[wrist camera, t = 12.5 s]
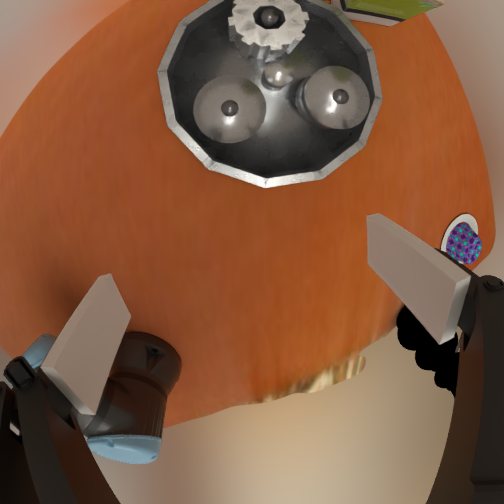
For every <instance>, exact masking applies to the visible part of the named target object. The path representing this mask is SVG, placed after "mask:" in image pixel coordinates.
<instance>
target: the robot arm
mask: <svg viewBox="0 0 504 504" xmlns="http://www.w3.org/2000/svg"><path fill="white" fill-rule="evenodd" d="M367 241H368V265H369V266H370V267H371V268H372V269H373V270H374V272H375V273H376V274H377V275H378V276H379V277H380V278H381V279H382V280H383V281H384V282H385V283H386V284H387V285H388V286H389V287H390V289H391V290H392V291H393V292H394V293H395V294H396V295H397V296H398V297H399V298H400V300H401V301H402V302H403V303H404V304H405V305H406V306H407V307H408V309H409V310H410V311H411V312H412V313H413V314H414V315H415V317H416V318H417V319H418V320H419V321H420V322H421V324H422V325H423V326H424V327H425V328H426V329H427V331H428V332H429V333H430V334H431V335H432V337H433V338H434V339H435V340H436V342H437V343H438V344H439V345H440V344H442V343H444V342H446V341H448V340H450V339H452V338H453V337H454V335H455V332H456V329H457V326H459V327H460V328H461V329H462V334H461V337H460V339H459V342H458V345H457V347H456V350H455V352H458V350H459V348H460V356H459V369H458V379H457V388H456V395H455V402H454V408H453V414H452V419H451V424H450V429H449V433H448V438H447V442H446V446H445V450H444V453H443V457H442V460H441V463H440V467H439V470H438V473H437V476H436V479H435V482H434V485H433V487H432V490H431V493H430V495H429V498H428V500H427V502H426V504H504V282H503V281H502V280H501V279H499V278H497V277H495V276H491V275H485V276H481V277H478V276H477V275H476V274H475V273H473V272H472V271H471V270H469V269H468V268H467V267H465V266H464V265H463V264H461V263H459V261H457V260H456V259H453V257H452V256H450V255H449V254H447V253H446V252H444V251H442V250H439V249H436V248H432V247H431V246H429V245H428V244H427V243H425V242H424V241H422V240H421V239H419V238H418V237H416V236H415V235H413V234H412V233H410V232H409V231H407V230H405V229H404V228H402V227H401V226H399V225H398V224H396V223H395V222H393V221H391V220H390V219H388V218H386V217H385V216H383V215H382V214H380V213H378V214H373V215H368V216H367ZM130 318H131V315H130V313H129V311H128V309H127V307H126V305H125V303H124V301H123V299H122V297H121V294H120V292H119V290H118V288H117V286H116V284H115V282H114V279H113V277H112V275H111V273H110V274H106V275H102V276H99V277H98V278H97V280H96V281H95V283H94V284H93V285H92V287H91V288H90V289H89V291H88V292H87V294H86V295H85V297H84V298H83V299H82V301H81V302H80V304H79V305H78V307H77V308H76V310H75V311H74V313H73V314H72V316H71V317H70V319H69V320H68V322H67V323H66V325H65V326H64V328H63V330H62V331H61V333H60V334H59V336H58V337H57V338H55V337H54V336H53V335H51V334H44V335H41V336H40V337H39V338H38V339H37V340H36V341H35V342H34V343H33V344H32V345H31V346H30V347H29V348H28V349H27V350H26V351H25V353H24V354H23V355H22V356H18V357H16V358H14V359H13V360H12V361H10V362H9V364H8V365H7V366H6V368H5V370H4V376H5V377H6V379H7V380H8V382H9V383H10V385H11V386H13V388H12V389H10V388H9V387H8V385H7V384H6V383H5V382H3V381H2V382H0V504H120V502H119V501H118V499H117V498H116V496H115V495H114V493H113V491H112V489H111V488H110V487H109V484H108V483H107V481H106V479H105V478H104V476H103V474H102V472H101V470H100V469H99V467H98V465H97V463H96V461H95V459H94V457H93V455H92V453H91V451H90V450H92V451H93V452H95V453H96V454H98V455H101V456H103V457H106V458H109V459H112V460H115V461H119V462H125V463H133V464H144V463H150V462H153V461H154V460H155V459H157V457H158V454H159V450H160V446H161V443H162V432H163V424H164V417H165V410H166V403H167V397H168V395H169V393H170V392H171V390H172V388H173V387H174V385H175V383H176V382H177V381H178V379H179V376H180V372H181V359H180V357H179V355H178V354H177V352H176V351H175V350H174V349H173V348H172V347H171V346H170V345H169V344H168V343H166V342H165V341H163V340H161V339H159V338H157V337H155V336H152V335H149V334H145V333H140V332H129V333H125V330H126V328H127V325H128V323H129V320H130ZM108 375H109V377H108ZM83 435H85V436H86V437H88V439H87V443H86V440H85V438H84V436H83Z"/></svg>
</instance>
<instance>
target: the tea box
mask: <svg viewBox="0 0 504 504" xmlns="http://www.w3.org/2000/svg"><path fill="white" fill-rule="evenodd" d="M444 4H445V2H444V0H331V5H333V6H335V7H337V8H339V9H340V10H341V11H342V13H343V14H344V15H345V16H346V17H347V18H348V19H349V20H356V21H363V22H369V23H374V24H380V25H385V26H393V25H395V24H397V23H399V22H402V21H404V20H406V19H409V18H411V17H413V16H416V15H418V14H420V13H423V12H426V11H428V10H431V9H433V8H436V7H438V6H441V5H444Z"/></svg>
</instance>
